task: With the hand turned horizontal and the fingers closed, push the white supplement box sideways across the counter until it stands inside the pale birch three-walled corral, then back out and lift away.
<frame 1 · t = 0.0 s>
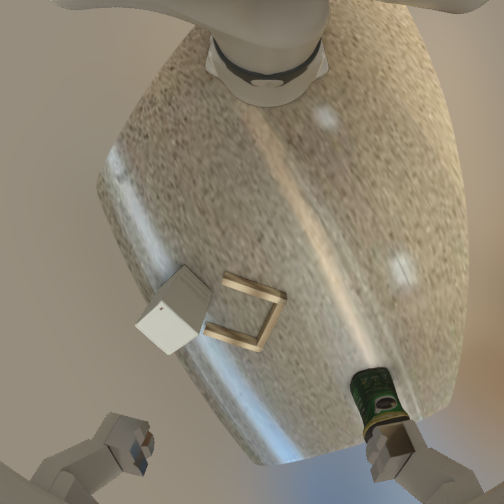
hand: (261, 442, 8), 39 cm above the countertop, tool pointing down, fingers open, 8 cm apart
corral: (240, 309, 51), on the countertop
supplement box: (186, 289, 51), on the countertop
coffee jar: (369, 379, 57), on the countertop
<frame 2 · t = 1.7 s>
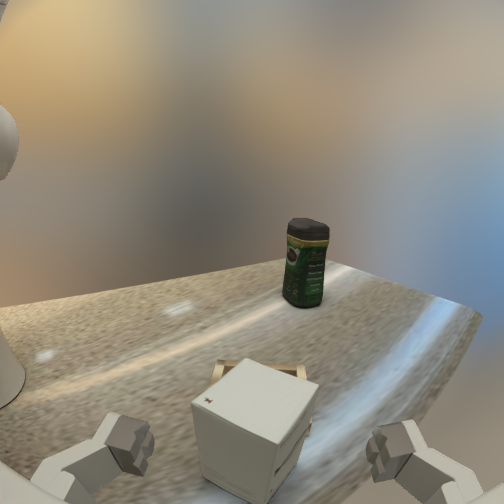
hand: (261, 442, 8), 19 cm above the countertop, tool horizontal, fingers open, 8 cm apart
corral: (257, 405, 33), on the countertop
supplement box: (251, 472, 23), on the countertop
coffee jar: (301, 300, 65), on the countertop
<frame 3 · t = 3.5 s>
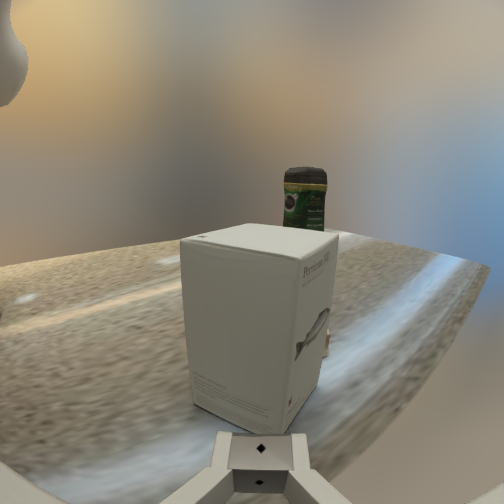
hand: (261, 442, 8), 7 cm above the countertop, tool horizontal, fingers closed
supplement box: (258, 398, 20), on the countertop
coffee jar: (301, 252, 63), on the countertop
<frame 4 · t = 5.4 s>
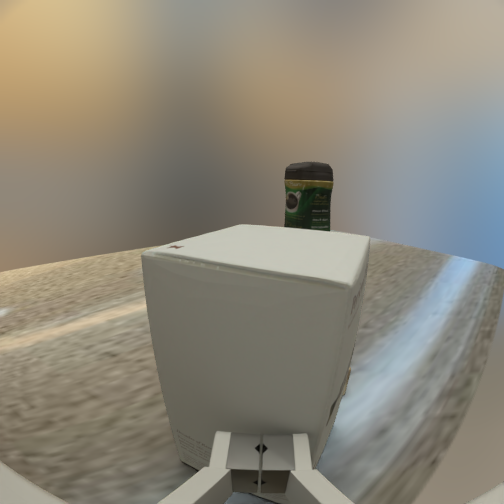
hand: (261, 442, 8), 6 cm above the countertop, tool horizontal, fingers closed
supplement box: (263, 448, 14), on the countertop, touching gripper
coffee jar: (305, 257, 56), on the countertop
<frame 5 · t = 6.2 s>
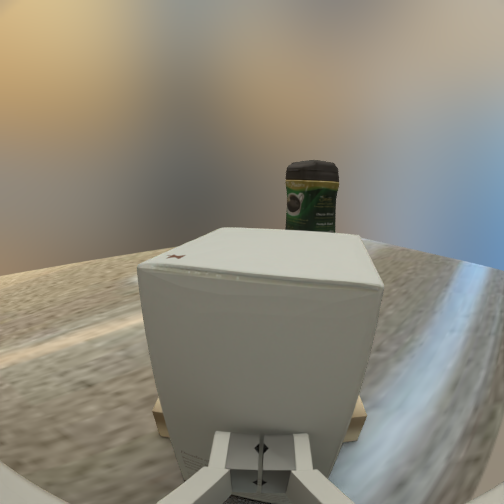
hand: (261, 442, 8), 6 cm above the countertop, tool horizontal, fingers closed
corral: (260, 394, 19), on the countertop
supplement box: (263, 454, 14), on the countertop, touching gripper
coffee jar: (308, 264, 52), on the countertop
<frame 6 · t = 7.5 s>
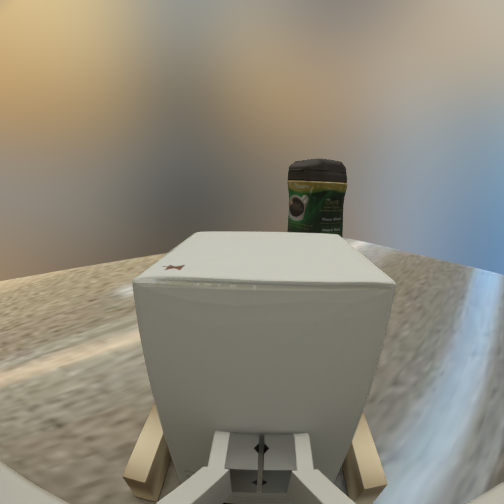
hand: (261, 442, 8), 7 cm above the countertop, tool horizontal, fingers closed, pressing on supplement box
corral: (256, 447, 14), on the countertop
supplement box: (258, 459, 13), on the countertop, touching gripper
coffee jar: (312, 274, 47), on the countertop
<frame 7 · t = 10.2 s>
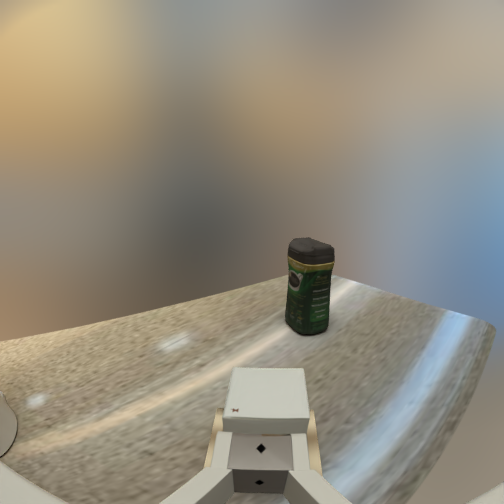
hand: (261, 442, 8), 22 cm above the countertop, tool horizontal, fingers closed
corral: (263, 457, 27), on the countertop
supplement box: (263, 462, 26), on the countertop
coffee jar: (306, 325, 59), on the countertop
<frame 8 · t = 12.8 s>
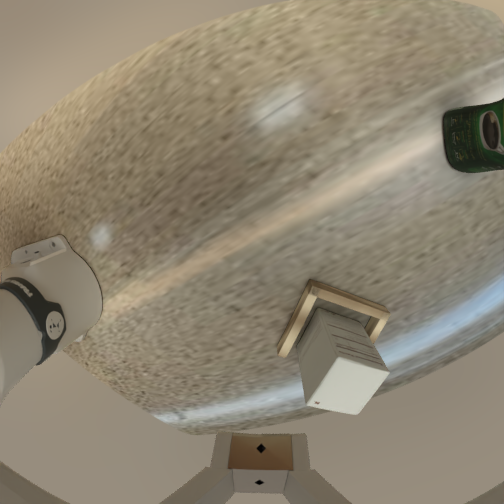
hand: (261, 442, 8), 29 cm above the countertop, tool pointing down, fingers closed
corral: (330, 330, 39), on the countertop
supplement box: (328, 333, 39), on the countertop
coffee jar: (460, 140, 31), on the countertop
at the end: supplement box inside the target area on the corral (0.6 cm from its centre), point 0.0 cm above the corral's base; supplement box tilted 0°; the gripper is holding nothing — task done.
